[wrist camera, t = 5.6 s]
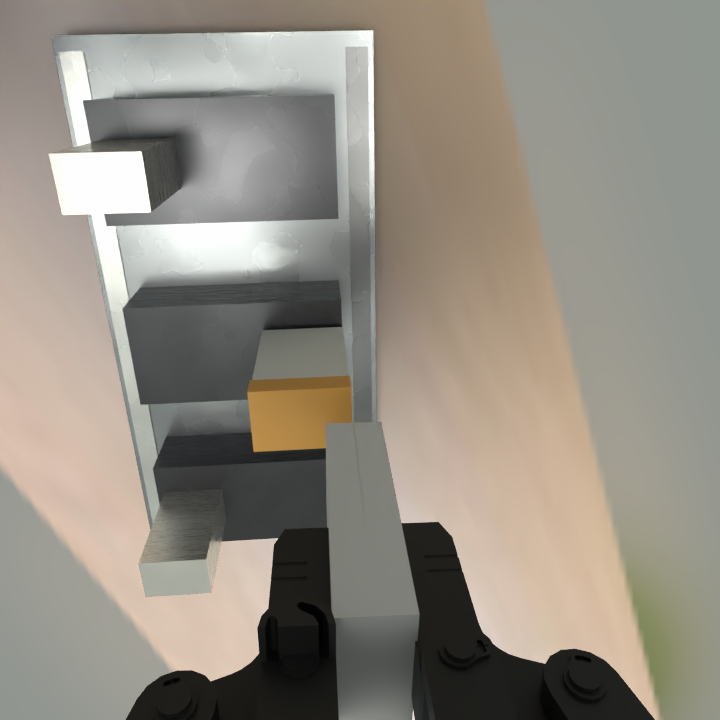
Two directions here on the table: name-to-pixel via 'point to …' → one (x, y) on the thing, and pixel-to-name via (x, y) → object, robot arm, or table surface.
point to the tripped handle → (298, 388)
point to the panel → (222, 258)
